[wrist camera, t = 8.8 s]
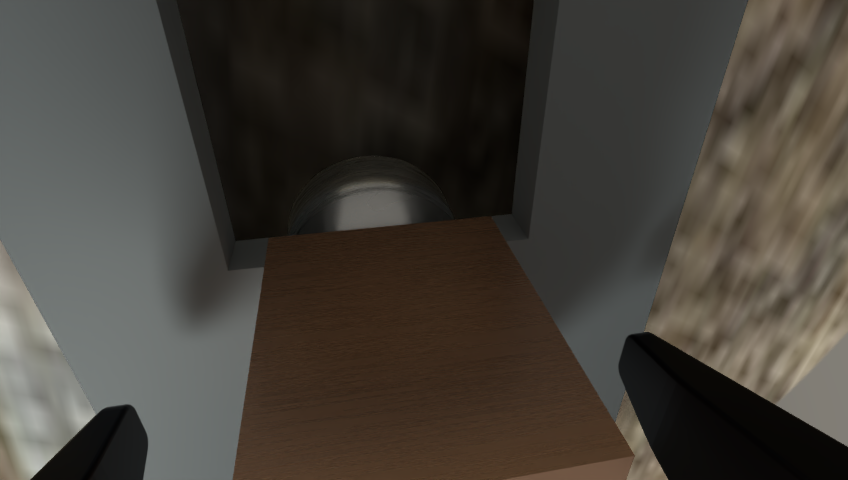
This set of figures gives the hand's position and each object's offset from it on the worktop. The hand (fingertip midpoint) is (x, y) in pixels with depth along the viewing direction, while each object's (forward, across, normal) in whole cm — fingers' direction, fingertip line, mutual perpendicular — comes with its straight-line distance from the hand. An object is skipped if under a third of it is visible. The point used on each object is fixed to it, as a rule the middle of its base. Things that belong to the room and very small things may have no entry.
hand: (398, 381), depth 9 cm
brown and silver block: (+5, 0, 0) cm, 5 cm away
